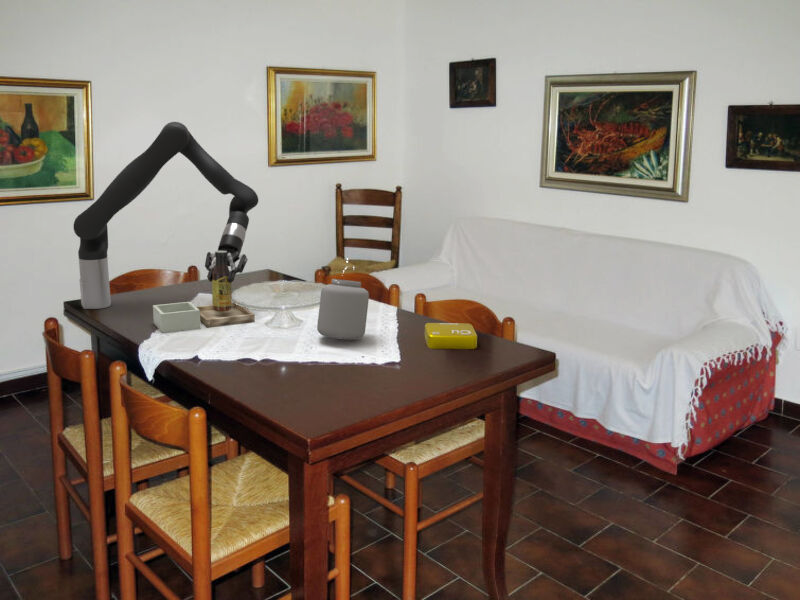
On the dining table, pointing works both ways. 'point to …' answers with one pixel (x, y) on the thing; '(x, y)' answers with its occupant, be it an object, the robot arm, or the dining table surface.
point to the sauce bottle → (221, 283)
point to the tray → (225, 316)
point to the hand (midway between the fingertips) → (219, 280)
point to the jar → (343, 310)
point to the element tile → (450, 336)
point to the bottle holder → (176, 317)
